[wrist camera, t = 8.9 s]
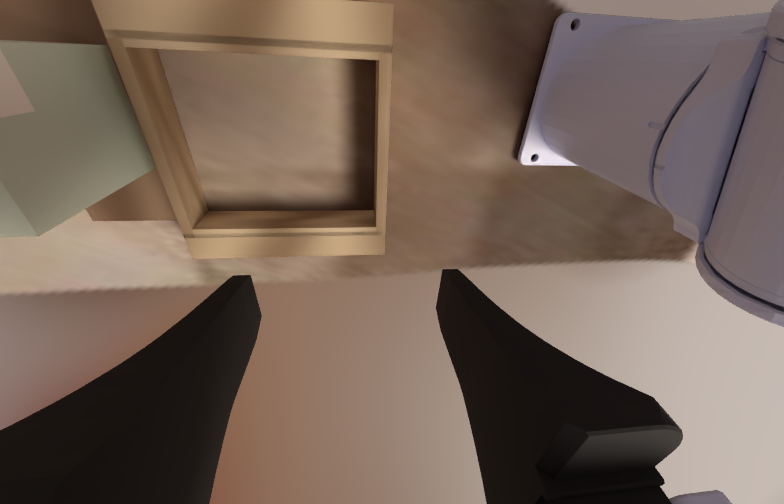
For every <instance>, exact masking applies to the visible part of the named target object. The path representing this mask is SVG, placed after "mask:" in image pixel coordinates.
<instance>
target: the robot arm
mask: <svg viewBox="0 0 784 504" xmlns="http://www.w3.org/2000/svg"><path fill="white" fill-rule="evenodd" d="M573 20H575V21H576V26H575V28H574V29H573V30H571V28H570V27H571V23H572V21H573ZM534 154H536V156H535V158H534V159H533V160H531V157H532V155H534ZM518 161H519V162H520V163H521V164H522V165H552V166H580V167H582V168H584V169H586V170H588V171H590V172H592V173H594V174H596V175H598V176H600V177H602V178H604V179H606V180H608V181H610V182H612V183H614V184H616V185H618V186H620V187H622V188H624V189H626V190H628V191H630V192H632V193H634V194H636V195H638V196H640V197H642V198H644V199H646V200H648V201H650V202H652V203H654V204H656V205H658V206H660V207H662V208H664V209H666V210H668V211H669V212H670V213H671V214H672V216H673V218H674V227H673V229H674V230H676V231H678V232H679V233H681V234H683V235H685V236H687V237H688V238H690V239H692V240H694V241H696V242H697V243H699V245H698V248H697V252H696V256H695V259H696V266H697V269H698V271H699V273H700V275H701V277H702V278H703V279H704V281H705V282H706V283H707V284H708V285H709V286H710V287H711V288H712V289H713V290H714V291H715V292H716V293H717V294H719V295H720V296H722V297H723V298H725V299H726V300H728V301H729V302H730V303H732V304H734V305H736V306H737V307H739V308H741V309H743V310H745V311H746V312H748V313H750V314H753V315H755V316H757V317H759V318H762V319H764V320H766V321H769V322H771V323H774V324H777V325H779V326H783V327H784V0H779V1H778V2H777V3H776V4H775V5H774V7H773V8H772V10H771V12H766V13H757V14H746V15H735V16H725V17H714V18H705V19H694V20H684V21H678V20H666V19H653V18H640V17H626V16H614V15H600V14H587V13H574V12H568V13H563V14H561V15H560V16H559V17H558V18H557V19H556V21H555V23H554V27H553V30H552V34H551V38H550V41H549V45H548V49H547V52H546V56H545V60H544V63H543V67H542V70H541V74H540V78H539V81H538V85H537V89H536V92H535V96H534V100H533V103H532V107H531V110H530V114H529V118H528V121H527V125H526V129H525V132H524V136H523V140H522V143H521V147H520V151H519V154H518ZM436 310H437V315H438V320H439V324H440V329H441V332H442V335H443V338H444V341H445V344H446V347H447V349H448V352H449V355H450V358H451V361H452V364H453V366H454V369H455V372H456V375H457V378H458V380H459V383H460V386H461V389H462V393H463V396H464V401H465V405H466V409H467V412H468V417H469V421H470V425H471V429H472V434H473V438H474V443H475V447H476V452H477V456H478V461H479V466H480V471H481V476H482V481H483V485H484V491H485V496H486V502H487V504H732V503H731V502H730V501H729V500H728V498H727V497H726V496H725V495H724V494H723V492H720V491H718V490H714V491H706V492H699V493H690V494H684V495H679V496H675V497H673V498H670V499H668V497H667V496H666V494H665V493H664V492H663V491H662V489H661V488H660V486H661V485H663V484H664V479H663V477H662V476H661V475H660V473H659V472H658V471H657V469H656V468H655V466H656V465H657V464H658V463H660V462H661V461H662V460H663V459H664V458H665V457H667V456H668V455H669V454H670V453H672V452H673V451H674V450H675V449H676V448H677V447H678V446H679V445H680V443H681V441H682V439H683V434H682V430H681V429H680V428H679V426H678V425H677V424H676V423H675V422H674V421H673V420H672V418H671V417H670V416H669V415H668V414H667V413H666V412H665V410H664V409H663V408H662V407H661V406H660V405H659V403H658V402H657V401H656V400H655V399H654V398H653V397H651V396H649V395H647V394H645V393H643V392H640V391H638V390H636V389H634V388H632V387H629V386H627V385H625V384H623V383H621V382H618V381H616V380H614V379H612V378H610V377H608V376H606V375H604V374H602V373H600V372H597V371H596V370H594V369H592V368H590V367H588V366H586V365H584V364H583V363H581V362H579V361H577V360H575V359H573V358H572V357H570V356H568V355H567V354H565V353H563V352H562V351H560V350H558V349H557V348H555V347H553V346H552V345H550V344H549V343H547V342H545V341H544V340H542V339H541V338H539V337H538V336H536V335H535V334H534V333H532V332H531V331H529V330H528V329H526V328H525V327H524V326H522V325H521V324H520V323H518V322H517V321H515V320H514V319H513V318H512V317H511V316H509V315H508V314H507V313H506V312H504V311H503V310H502V309H500V307H498V306H497V305H496V304H495V303H494V302H493V301H491V300H490V299H489V298H488V297H487V296H486V295H485V294H484V293H483V292H482V291H480V290H479V289H478V288H477V287H476V286H475V285H474V284H473V283H472V282H471V281H470V280H469V279H468V278H467V277H466V276H465V275H464V274H463V273H461V272H460V271H459V270H458V269H443V270H442V276H441V282H440V288H439V293H438V299H437V305H436ZM260 321H261V312H260V308H259V304H258V301H257V297H256V293H255V290H254V286H253V282H252V278H251V275H237V276H232V277H231V278H230V279H228V280H227V281H226V282H225V283H224V284H222V285H221V286H220V287H219V288H218V289H217V290H216V291H215V292H214V293H212V294H211V295H210V296H209V297H208V298H207V299H205V300H204V301H203V302H202V303H201V304H200V305H198V306H197V307H196V308H195V309H194V310H192V311H191V312H190V313H189V314H188V315H187V316H185V317H184V318H183V319H182V320H180V321H179V322H178V323H176V324H175V325H174V326H173V327H171V328H170V329H169V330H167V331H166V332H165V333H164V334H163V335H161V336H160V337H158V338H157V339H156V340H154V341H153V342H152V343H150V344H149V345H148V346H146V347H145V348H143V349H142V350H140V351H139V352H137V353H136V354H134V355H133V356H131V357H130V358H129V359H127V360H126V361H124V362H122V363H121V364H119V365H118V366H116V367H114V368H113V369H111V370H110V371H108V372H106V373H104V374H103V375H101V376H100V377H98V378H96V379H95V380H93V381H91V382H90V383H88V384H86V385H85V386H83V387H81V388H80V389H78V390H76V391H74V392H73V393H71V394H69V395H67V396H65V397H64V398H62V399H60V400H59V401H56V402H55V403H53V404H51V405H49V406H47V407H45V408H43V409H41V410H40V411H38V412H36V413H34V414H32V415H30V416H28V417H27V418H24V419H22V420H20V421H18V422H16V423H15V424H13V425H11V426H9V427H7V428H4V429H2V430H0V504H209V502H210V498H211V493H212V488H213V483H214V478H215V474H216V469H217V465H218V461H219V457H220V452H221V448H222V444H223V439H224V436H225V432H226V428H227V424H228V420H229V416H230V412H231V409H232V406H233V403H234V400H235V397H236V394H237V392H238V389H239V386H240V384H241V381H242V378H243V375H244V373H245V370H246V367H247V365H248V362H249V359H250V356H251V353H252V351H253V348H254V345H255V342H256V339H257V334H258V330H259V325H260Z"/></svg>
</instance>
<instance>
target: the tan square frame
mask: <svg viewBox="0 0 784 504" xmlns="http://www.w3.org/2000/svg"><path fill="white" fill-rule="evenodd" d="M91 1H92V4H93V6H94V9H95V11H96V14H97V16H98V19H99V21H100V24H101V26H102V29H103V32H104V34H105V37H106V39H107V42H108V44H109V47H110V49H111V52H112V54H113V57H114V60H115V62H116V65H117V67H118V70H119V72H120V75H121V77H122V80H123V83H124V85H125V88H126V90H127V93H128V95H129V98H130V100H131V103H132V105H133V108H134V111H135V113H136V116H137V118H138V121H139V123H140V126H141V128H142V131H143V133H144V136H145V139H146V141H147V144H148V146H149V149H150V151H151V154H152V156H153V159H154V162H155V164H156V167H157V169H158V172H159V174H160V177H161V179H162V182H163V184H164V187H165V190H166V192H167V195H168V197H169V200H170V202H171V205H172V207H173V210H174V212H175V215H176V218H177V220H178V223H179V225H180V228H181V230H182V233H183V235H184V238H185V241H186V243H187V246H188V248H189V251H190V253H191V256H192V258H193V259H200V258H244V257H288V256H332V255H376V254H384V253H385V227H386V200H387V174H388V148H389V121H390V95H391V68H392V42H393V16H394V4H389V3H376V2H362V1H349V0H91ZM157 49H173V50H192V51H212V52H231V53H250V54H269V55H289V56H308V57H327V58H347V59H366V60H376V88H375V164H374V210H321V211H209V210H208V207H207V204H206V201H205V198H204V195H203V192H202V189H201V185H200V182H199V179H198V176H197V173H196V170H195V167H194V164H193V161H192V158H191V154H190V151H189V148H188V145H187V142H186V139H185V136H184V133H183V130H182V126H181V123H180V120H179V117H178V114H177V111H176V108H175V105H174V102H173V98H172V95H171V92H170V89H169V86H168V83H167V80H166V77H165V74H164V71H163V67H162V64H161V61H160V58H159V55H158V52H157Z"/></svg>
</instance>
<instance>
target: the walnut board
mask: <svg viewBox="0 0 784 504" xmlns="http://www.w3.org/2000/svg"><path fill="white" fill-rule="evenodd" d="M0 40H15V41H34V42H53V43H72V44H92V45H107V46H108V48H109V51H110V53H111V56H112V58H113V61H114V63H115V66H116V69H117V71H118V74H119V76H120V79H121V81H122V84H123V86H124V89H125V91H126V94H127V96H128V99H129V101H130V104H131V107H132V109H133V112H134V114H135V117H136V119H137V122H138V124H139V127H140V129H141V132H142V134H143V137H144V139H145V136H144V133H143V131H142V128H141V126H140V123H139V121H138V118H137V116H136V113H135V111H134V108H133V105H132V103H131V100H130V98H129V95H128V93H127V90H126V88H125V85H124V83H123V80H122V77H121V75H120V72H119V70H118V67H117V65H116V62H115V60H114V57H113V54H112V52H111V49H110V47H109V44H108V42H107V39H106V37H105V34H104V32H103V29H102V26H101V24H100V21H99V19H98V16H97V14H96V11H95V9H94V6H93V4H92V1H91V0H0ZM145 142H146V145H147V147H148V150H149V152H150V155H151V157H152V160H153V162H154V159H153V156H152V154H151V151H150V149H149V146H148V144H147V141H146V139H145ZM154 165H155V167H156V164H155V162H154ZM86 210H87V211H88V213H89V215H90V217H91V218H92V220H93V221H144V220H177V218H176V215H175V212H174V210H173V207H172V205H171V202H170V200H169V197H168V195H167V192H166V190H165V187H164V184H163V182H162V179H161V177H160V174H159V172H158V169H157V167H156V168H154V169H153V170H151V171H149V172H148V173H146V174H144V175H142V176H141V177H139V178H137V179H136V180H134V181H132V182H131V183H129V184H127V185H125V186H124V187H122V188H120V189H119V190H117V191H115V192H113V193H112V194H110V195H108V196H107V197H105V198H103V199H101V200H100V201H98V202H96V203H95V204H93V205H91V206H90V207H88V208H86Z"/></svg>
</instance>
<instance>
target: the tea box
mask: <svg viewBox="0 0 784 504" xmlns="http://www.w3.org/2000/svg"><path fill="white" fill-rule="evenodd" d="M154 168H156V167H155V165H154V162H153V160H152V157H151V155H150V152H149V150H148V147H147V145H146V142H145V139H144V137H143V134H142V132H141V129H140V127H139V124H138V122H137V119H136V117H135V114H134V112H133V109H132V107H131V104H130V101H129V99H128V96H127V94H126V91H125V89H124V86H123V84H122V81H121V79H120V76H119V74H118V71H117V69H116V66H115V63H114V61H113V58H112V56H111V53H110V51H109V48H108V46H107V45H92V44H72V43H53V42H34V41H15V40H0V237H18V236H40V235H42V234H43V233H45V232H47V231H49V230H50V229H52V228H54V227H55V226H57V225H59V224H61V223H62V222H64V221H66V220H67V219H69V218H71V217H72V216H74V215H76V214H78V213H79V212H81V211H83V210H84V209H86V208H88V207H90V206H91V205H93V204H95V203H96V202H98V201H100V200H101V199H103V198H105V197H107V196H108V195H110V194H112V193H113V192H115V191H117V190H119V189H120V188H122V187H124V186H125V185H127V184H129V183H131V182H132V181H134V180H136V179H137V178H139V177H141V176H142V175H144V174H146V173H148V172H149V171H151V170H153V169H154Z"/></svg>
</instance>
